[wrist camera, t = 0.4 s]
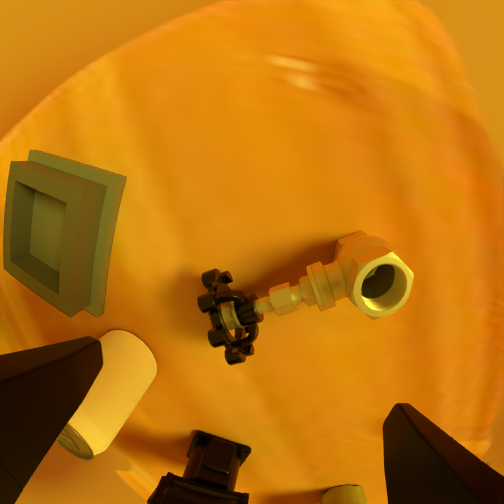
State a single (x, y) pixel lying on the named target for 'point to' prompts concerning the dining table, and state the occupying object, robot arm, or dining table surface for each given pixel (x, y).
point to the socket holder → (61, 229)
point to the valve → (309, 292)
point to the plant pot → (344, 495)
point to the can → (110, 395)
